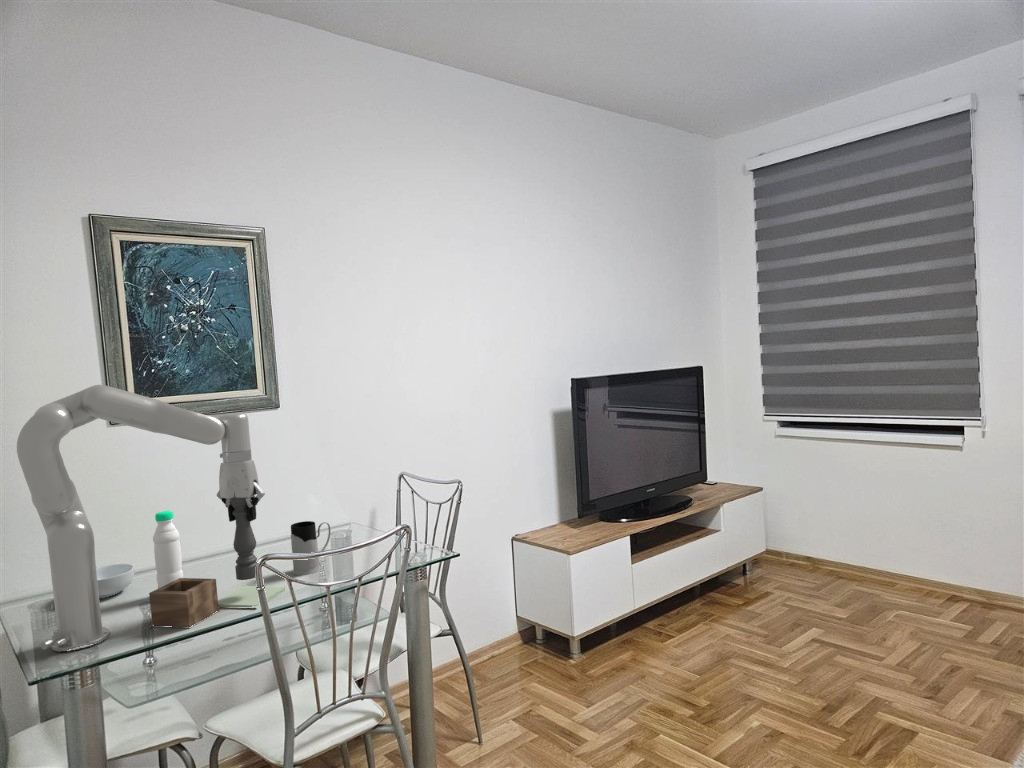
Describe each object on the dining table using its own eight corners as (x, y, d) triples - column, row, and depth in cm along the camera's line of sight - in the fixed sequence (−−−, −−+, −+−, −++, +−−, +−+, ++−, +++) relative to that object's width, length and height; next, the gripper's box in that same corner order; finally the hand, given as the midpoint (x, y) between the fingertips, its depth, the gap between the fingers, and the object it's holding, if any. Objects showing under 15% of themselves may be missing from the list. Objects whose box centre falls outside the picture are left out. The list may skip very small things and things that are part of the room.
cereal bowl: (141, 593, 210) (139, 570, 210) (76, 609, 200) (74, 585, 199) (130, 581, 223) (128, 559, 223) (69, 595, 213) (66, 572, 213)
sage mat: (256, 609, 191) (256, 605, 191) (212, 607, 194) (212, 603, 194) (285, 590, 204) (284, 587, 204) (243, 589, 208) (242, 586, 208)
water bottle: (174, 599, 203) (166, 514, 201) (153, 599, 204) (144, 515, 203) (190, 590, 210) (182, 508, 208) (169, 590, 211) (161, 509, 210)
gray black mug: (286, 572, 222) (282, 525, 221) (324, 560, 232) (321, 515, 232) (302, 577, 216) (298, 529, 215) (340, 564, 227) (337, 518, 226)
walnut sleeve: (189, 628, 180) (186, 594, 179) (152, 626, 183) (149, 593, 182) (218, 611, 191) (215, 578, 191) (182, 609, 194) (179, 577, 193)
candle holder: (263, 574, 200) (256, 488, 198) (245, 581, 195) (237, 492, 193) (250, 571, 203) (242, 486, 202) (231, 578, 198) (223, 491, 197)
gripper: (202, 460, 195) (208, 523, 196) (255, 458, 191) (261, 523, 192) (219, 455, 203) (225, 517, 204) (271, 454, 198) (277, 516, 200)
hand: (242, 519), depth 198 cm, fingers closed on candle holder, 5 cm apart
